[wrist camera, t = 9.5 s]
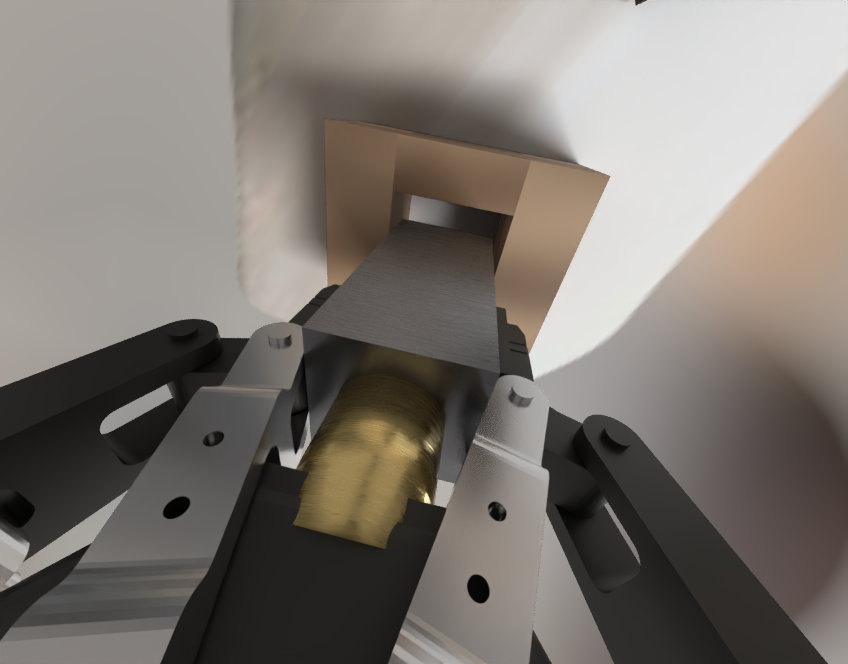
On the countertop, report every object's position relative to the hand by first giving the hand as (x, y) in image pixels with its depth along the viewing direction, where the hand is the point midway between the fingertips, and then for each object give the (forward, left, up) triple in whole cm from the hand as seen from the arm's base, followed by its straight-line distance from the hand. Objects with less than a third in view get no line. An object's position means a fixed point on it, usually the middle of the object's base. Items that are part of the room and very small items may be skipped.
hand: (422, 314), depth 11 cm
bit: (0, 0, -4) cm, 4 cm away
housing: (0, 0, -10) cm, 10 cm away
